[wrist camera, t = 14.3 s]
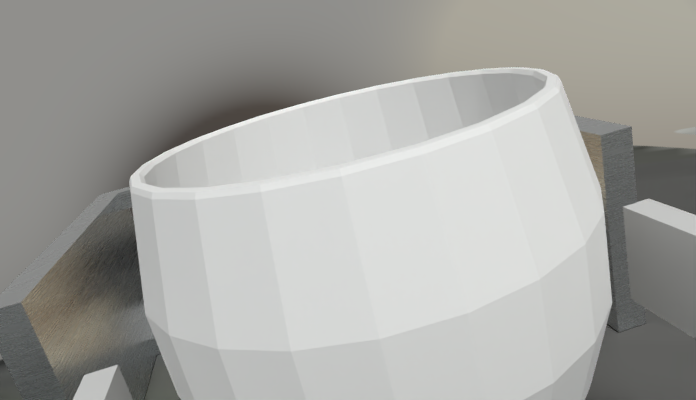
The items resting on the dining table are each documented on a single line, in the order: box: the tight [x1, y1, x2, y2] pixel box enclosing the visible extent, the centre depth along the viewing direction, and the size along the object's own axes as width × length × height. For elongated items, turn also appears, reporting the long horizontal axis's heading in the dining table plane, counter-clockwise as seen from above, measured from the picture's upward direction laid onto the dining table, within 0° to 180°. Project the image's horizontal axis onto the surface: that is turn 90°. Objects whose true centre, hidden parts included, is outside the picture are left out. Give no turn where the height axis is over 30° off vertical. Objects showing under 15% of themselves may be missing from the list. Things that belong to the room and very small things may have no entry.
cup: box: [129, 67, 612, 400], centre depth 15 cm, size 11×11×15 cm
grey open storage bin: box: [0, 116, 646, 400], centre depth 32 cm, size 28×18×10 cm, turn 101°
